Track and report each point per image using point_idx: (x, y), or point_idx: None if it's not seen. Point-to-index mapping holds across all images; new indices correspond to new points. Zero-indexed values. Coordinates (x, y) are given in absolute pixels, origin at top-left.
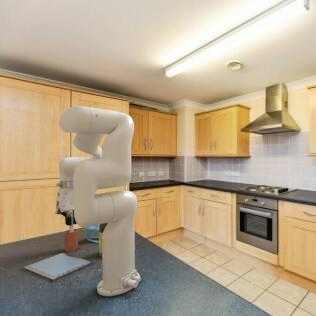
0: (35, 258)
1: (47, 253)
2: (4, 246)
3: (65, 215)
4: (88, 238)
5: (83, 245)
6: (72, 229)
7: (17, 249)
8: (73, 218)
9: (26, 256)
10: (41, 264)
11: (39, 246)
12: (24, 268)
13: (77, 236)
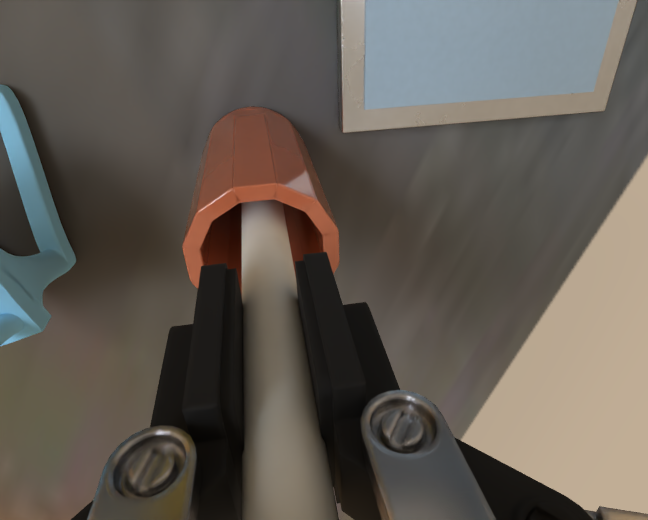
0: (454, 238)
1: (375, 261)
2: None
3: (471, 462)
4: (57, 256)
5: (137, 182)
6: (263, 237)
7: None
8: (242, 383)
9: (452, 318)
10: (554, 19)
11: None
12: (607, 90)
13: (203, 175)
